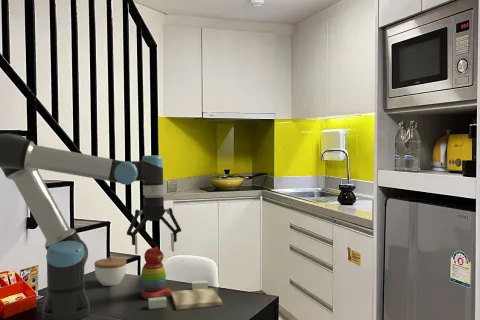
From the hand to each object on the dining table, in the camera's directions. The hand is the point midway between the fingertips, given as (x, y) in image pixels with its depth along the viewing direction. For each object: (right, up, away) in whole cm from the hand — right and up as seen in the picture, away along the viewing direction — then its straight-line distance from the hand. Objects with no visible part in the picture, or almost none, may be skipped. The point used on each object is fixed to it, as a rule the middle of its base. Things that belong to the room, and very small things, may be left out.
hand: (154, 252), depth 173 cm
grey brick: (+17, -16, +7) cm, 24 cm away
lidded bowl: (-21, -16, +15) cm, 31 cm away
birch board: (+16, -16, -7) cm, 24 cm away
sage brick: (+4, -17, -13) cm, 21 cm away
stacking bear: (0, -16, 0) cm, 16 cm away
